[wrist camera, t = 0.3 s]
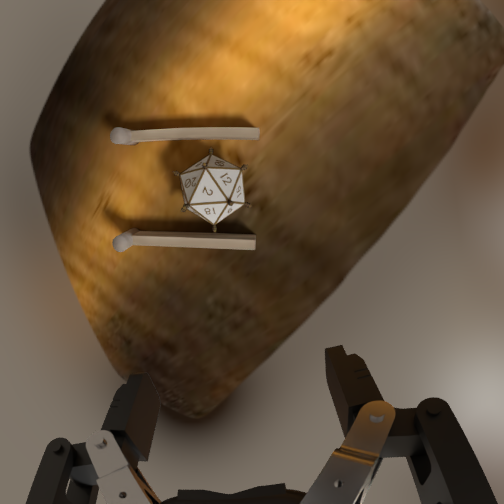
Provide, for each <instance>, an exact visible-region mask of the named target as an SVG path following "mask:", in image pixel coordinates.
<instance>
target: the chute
mask: <svg viewBox="0 0 504 504" xmlns="http://www.w3.org/2000/svg"><path fill="white" fill-rule="evenodd" d="M110 139H111V141H112V142H113V143H115V144H125V145H136V144H138V142H146V141H165V140H198V139H236V140H259V128H244V127H200V128H171V129H153V130H139V131H135V130H130V129H125V128H121V127H116V128H114V129H113V130H112V132H111V134H110ZM255 243H256V235H252V234H226V233H198V232H166V231H140V230H139V229H137V228H132V229H130V230H128V231H126V232H124V233H122V234H120V235H118V236H117V237H115V238H114V239H113V247H114V249H115V250H116V251H118V252H123V251H124V250H126V249H127V248H129V247H130V246H132V245H146V246H171V247H195V248H220V249H244V250H255Z"/></svg>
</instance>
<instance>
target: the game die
mask: <svg viewBox="0 0 504 504" xmlns="http://www.w3.org/2000/svg"><path fill="white" fill-rule="evenodd" d="M209 153H210V154H209V155H208V156H206V157H205V158H203V159H201V160H200V161H198V162H197V163H195V164H194V165H192V166H191V167H189V168H188V169H186V170H185V171H183V172H182V173H179V172H177V171H172V172H173V173H174V175H176V176H179V178H180V183H181V188H182V194H183V199H184V204H185V205H183V208H182V209H181V212H185V211H186V209H187V210H189V211H191V212H192V213H194V214H196V215H197V216H199V217H201V218H202V219H204V220H206V221H207V222H209V223H210V224H212V225H213V227H212V230H213V231H214V233H215V232H216V230H217V228H216V224H217V223H219V222H220V221H222V220H223V219H224V218H226V217H227V216H229V215H230V214H232V213H233V212H234V211H236V210H237V209H239V208H240V207H242V206H243V205H245V206H247V207H252V206H251V205H250V203H248V202H247V203H246V202H245V194H244V184H243V174H242V170H245V169H247V166H248V165H243V166H242V167H241V168H240V167H238V166H236V165H234V164H231V163H229V162H227V161H225V160H223V159H221V158H219V157H217V156H215V155H213V149H212V148H211V147H210V149H209Z"/></svg>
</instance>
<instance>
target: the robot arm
mask: <svg viewBox="0 0 504 504" xmlns="http://www.w3.org/2000/svg"><path fill="white" fill-rule="evenodd" d="M325 363H326V379H327V383H328V387H329V390H330V393H331V396H332V399H333V403H334V406H335V408H336V412H337V415H338V418H339V421H340V424H341V427H342V430H343V433H344V437H345V440H344V442H343V444H342V445H341V447H340V448H339V449H338V448H337V449H335V451H334V452H333V453H332V455H331V456H330V458H329V460H328V461H327V463H326V465H325V466H324V468H323V469H322V471H321V473H320V474H319V476H318V477H317V479H316V480H315V482H314V483H313V485H312V486H311V488H310V489H309V491H308V492H307V493H305V492H301V491H297V490H290V489H286V487H285V483H282V484H275V485H267V486H258V487H254V488H252V489H248V490H245V491H241V492H238V493H234V494H223V493H217V492H212V491H207V490H178V496H176V497H173V498H170V499H167V500H165V501H163V502H161V500H160V499H159V498H158V497H157V495H156V494H155V492H154V491H153V489H152V488H151V486H150V485H149V483H148V482H147V480H146V479H145V477H144V476H143V474H142V473H141V471H140V469H139V468H138V467H137V466H138V461H148V457H149V453H150V448H151V444H152V440H153V435H154V431H155V427H156V423H157V419H158V414H159V410H160V398H159V395H158V393H157V391H156V389H155V387H154V385H153V383H152V380H151V378H150V376H149V375H148V373H132V374H130V376H129V379H128V381H127V384H123V385H122V386H121V387H120V388H119V389H118V390H117V391H116V393H115V396H114V398H113V401H112V403H111V405H110V408H109V410H108V413H107V415H106V418H105V420H104V423H103V426H102V428H101V430H100V431H96V432H94V433H93V434H91V435H90V436H89V437H88V439H87V441H86V442H84V443H79V444H73V445H71V443H70V442H69V441H68V440H67V439H65V438H56V439H54V440H52V441H51V442H50V443H49V444H48V445H47V447H46V450H45V452H44V455H43V457H42V460H41V463H40V465H39V468H38V471H37V474H36V476H35V478H34V481H33V484H32V487H31V490H30V493H29V495H28V499H27V502H26V504H96V500H97V495H98V490H99V488H100V490H101V493H102V495H103V496H104V499H105V501H106V503H107V504H362V503H363V501H364V499H365V497H366V495H367V492H368V490H369V488H370V486H371V484H372V482H373V480H374V478H375V476H376V474H377V472H378V469H379V467H380V465H381V463H382V461H383V458H385V457H406V459H407V462H408V465H409V467H410V470H411V473H412V476H413V479H414V482H415V485H416V488H417V491H418V494H419V497H420V500H421V504H498V503H497V501H496V499H495V496H494V494H493V492H492V490H491V487H490V485H489V483H488V481H487V479H486V476H485V474H484V472H483V470H482V468H481V466H480V464H479V462H478V460H477V458H476V455H475V454H474V451H473V450H472V447H471V446H470V444H469V442H468V440H467V438H466V436H465V434H464V432H463V430H462V428H461V426H460V424H459V423H458V421H457V419H456V417H455V415H454V413H453V412H452V410H451V408H450V406H449V405H448V403H447V402H446V401H444V400H442V399H440V398H427V399H425V400H423V401H422V402H420V404H419V405H418V406H417V408H407V409H399V408H394V407H393V406H392V405H391V404H389V403H387V402H385V401H384V400H383V398H382V396H381V394H380V391H379V390H378V388H377V385H376V384H375V381H374V379H373V377H372V376H371V374H370V372H369V370H368V368H367V366H366V364H365V362H364V360H363V359H362V358H361V357H359V356H358V355H356V354H351V355H346V353H345V350H344V348H343V346H342V345H340V346H336V347H330V348H326V349H325ZM69 479H70V484H69V487H68V490H67V494H66V487H67V483H68V481H69Z"/></svg>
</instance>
